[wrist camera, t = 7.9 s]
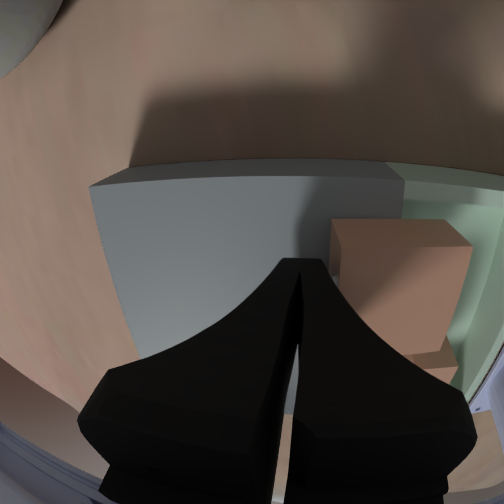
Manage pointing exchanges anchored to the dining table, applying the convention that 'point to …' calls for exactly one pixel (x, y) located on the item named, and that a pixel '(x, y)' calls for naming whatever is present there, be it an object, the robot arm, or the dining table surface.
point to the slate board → (224, 234)
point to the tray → (481, 262)
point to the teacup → (23, 29)
